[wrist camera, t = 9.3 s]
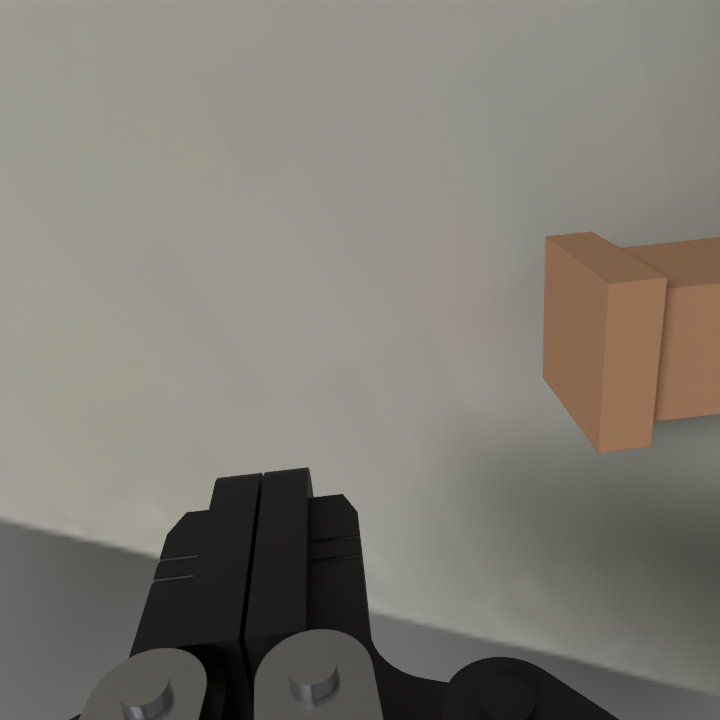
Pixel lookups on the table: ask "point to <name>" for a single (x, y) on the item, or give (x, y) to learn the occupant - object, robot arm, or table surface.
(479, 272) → the table surface
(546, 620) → the table surface
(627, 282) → the rust plug
